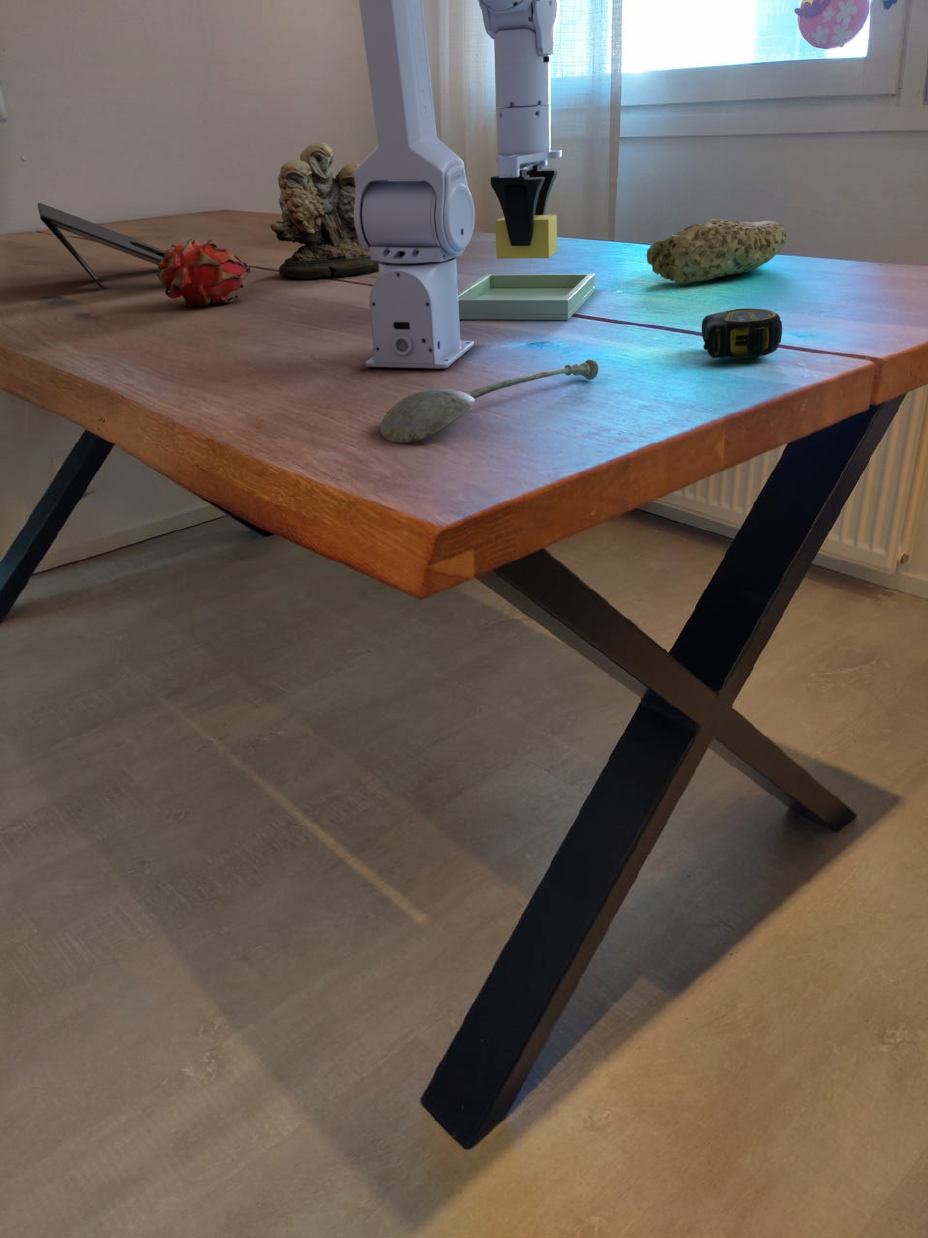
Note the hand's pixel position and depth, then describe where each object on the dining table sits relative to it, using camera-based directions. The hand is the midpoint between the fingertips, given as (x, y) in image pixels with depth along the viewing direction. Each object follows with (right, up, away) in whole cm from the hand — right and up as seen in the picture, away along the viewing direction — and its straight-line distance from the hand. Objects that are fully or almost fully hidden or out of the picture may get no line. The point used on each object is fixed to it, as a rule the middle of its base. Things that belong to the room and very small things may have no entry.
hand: (525, 242), depth 113 cm
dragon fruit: (-39, -2, +15) cm, 42 cm away
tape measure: (+17, -19, -23) cm, 34 cm away
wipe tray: (0, -6, +4) cm, 7 cm away
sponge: (+26, +1, +15) cm, 30 cm away
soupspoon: (-4, -26, -33) cm, 42 cm away
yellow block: (0, -1, +1) cm, 1 cm away
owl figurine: (-26, +8, +33) cm, 43 cm away
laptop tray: (-56, +7, +35) cm, 66 cm away
